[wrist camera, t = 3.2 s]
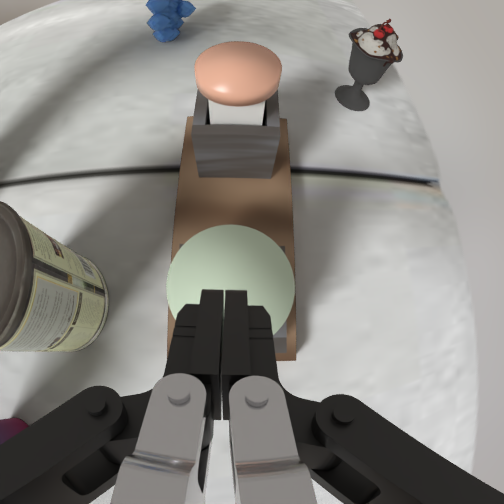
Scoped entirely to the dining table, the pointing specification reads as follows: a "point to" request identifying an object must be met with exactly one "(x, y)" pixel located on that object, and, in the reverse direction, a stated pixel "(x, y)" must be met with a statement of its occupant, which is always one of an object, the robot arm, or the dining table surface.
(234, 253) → the button
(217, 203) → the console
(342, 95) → the sundae
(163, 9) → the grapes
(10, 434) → the cup
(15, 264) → the coffee can
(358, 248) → the dining table surface
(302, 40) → the dining table surface
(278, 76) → the button
